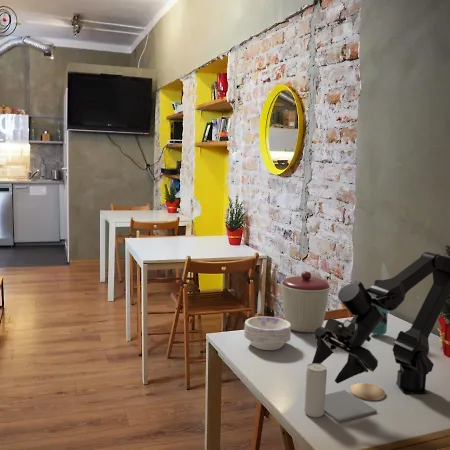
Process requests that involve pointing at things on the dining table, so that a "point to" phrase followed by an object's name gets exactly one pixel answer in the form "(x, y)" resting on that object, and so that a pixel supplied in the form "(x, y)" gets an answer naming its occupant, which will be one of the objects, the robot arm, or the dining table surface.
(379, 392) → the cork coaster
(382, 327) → the beverage bottle
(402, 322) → the dining table surface
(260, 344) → the paper bowls
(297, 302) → the canister
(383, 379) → the dining table surface
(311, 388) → the beverage can
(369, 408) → the slate coaster
